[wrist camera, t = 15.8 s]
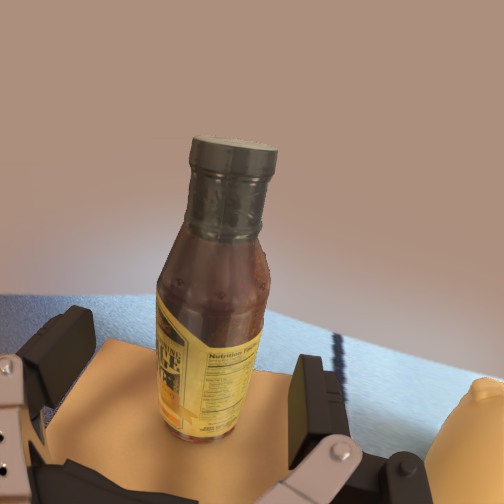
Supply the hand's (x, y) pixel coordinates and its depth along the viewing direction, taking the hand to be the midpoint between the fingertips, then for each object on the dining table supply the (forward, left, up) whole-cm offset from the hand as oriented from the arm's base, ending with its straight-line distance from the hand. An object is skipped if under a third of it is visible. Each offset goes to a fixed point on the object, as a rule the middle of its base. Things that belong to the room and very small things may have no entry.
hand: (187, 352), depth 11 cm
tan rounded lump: (-22, 0, -13) cm, 26 cm away
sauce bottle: (0, -7, -13) cm, 14 cm away
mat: (0, -6, -13) cm, 15 cm away
